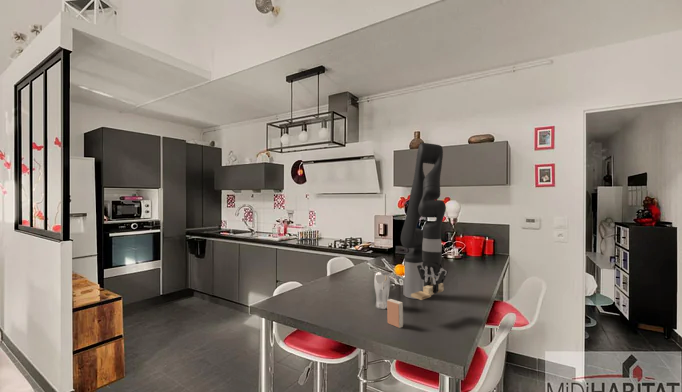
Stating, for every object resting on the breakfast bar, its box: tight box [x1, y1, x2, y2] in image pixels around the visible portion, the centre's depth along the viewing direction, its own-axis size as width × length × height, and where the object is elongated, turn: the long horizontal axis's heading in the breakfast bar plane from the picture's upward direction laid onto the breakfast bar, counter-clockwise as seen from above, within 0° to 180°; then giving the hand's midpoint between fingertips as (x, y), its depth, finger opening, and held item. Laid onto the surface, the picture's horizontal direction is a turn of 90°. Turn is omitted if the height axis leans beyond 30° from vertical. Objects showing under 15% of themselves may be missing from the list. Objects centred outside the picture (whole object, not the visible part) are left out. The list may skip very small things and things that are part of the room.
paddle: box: [411, 282, 445, 301], centre depth 124 cm, size 16×5×3 cm, turn 128°
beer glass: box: [373, 271, 391, 310], centre depth 139 cm, size 7×7×15 cm
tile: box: [386, 298, 404, 329], centre depth 118 cm, size 6×2×9 cm, turn 39°
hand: (431, 292), depth 125 cm, fingers closed on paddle, 2 cm apart
